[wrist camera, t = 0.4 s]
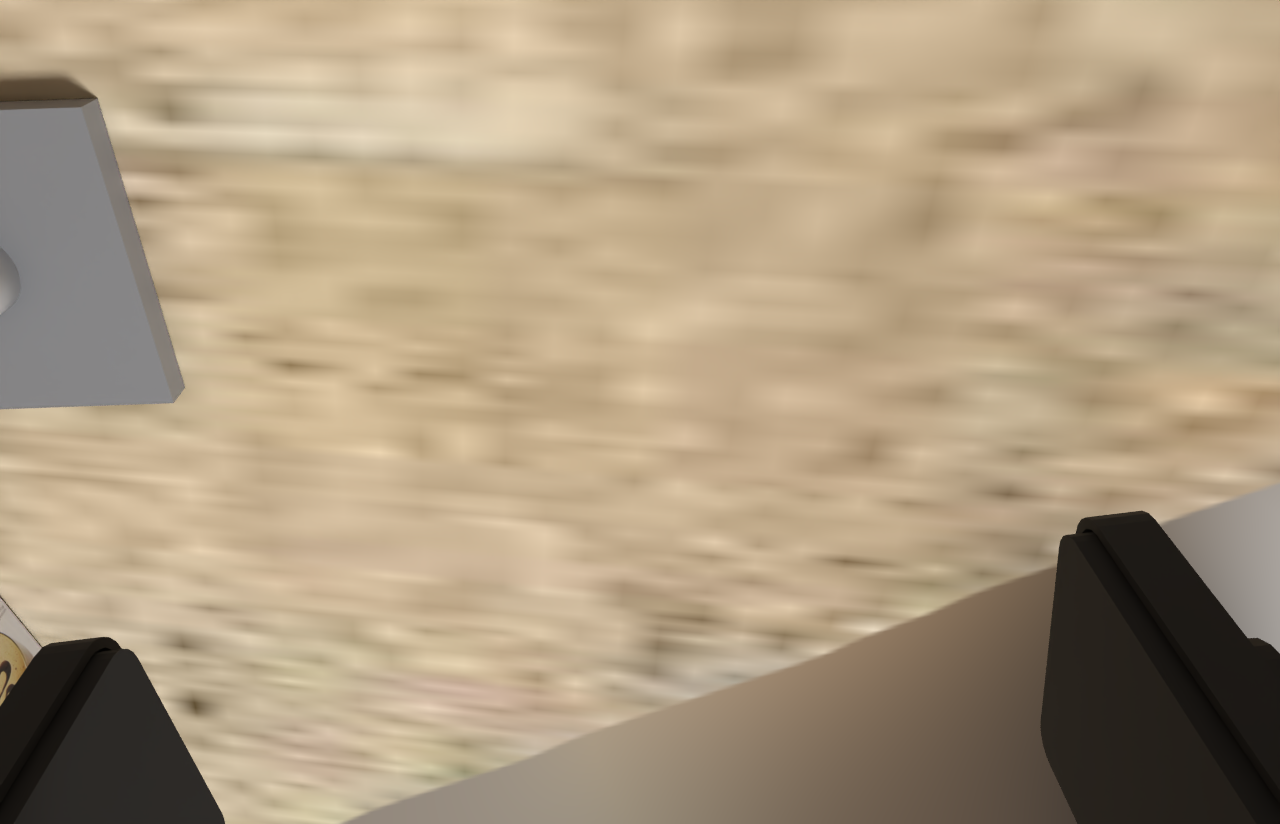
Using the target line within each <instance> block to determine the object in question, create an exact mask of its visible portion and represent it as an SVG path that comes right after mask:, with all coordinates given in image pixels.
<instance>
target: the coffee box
mask: <svg viewBox="0 0 1280 824" xmlns="http://www.w3.org/2000/svg"><path fill="white" fill-rule="evenodd" d="M41 648H42V647H41V646H40V645H39V644H38V642H37V641H36V640H35V639H34V638H33V636H32V635H31V634H30V633H29V632H28V630H27V629H26V628H25V627H24V625H23V624H22V623H21V622H20V621H19V619H18V618H17V617H16V616H15V615H14V613H13V612H12V611H11V610H10V609H9V607H8V606H7V605H6V604H5V602H4V601H3V600H2V599H1V598H0V706H1V704H2V703H3V701H4V700H5V698H6V697H7V695H8V694H9V693H10V691H11V690H12V688H13V687H14V685H15V684H16V682H17V681H18V679H19V678H20V677H21V675H22V674H23V672H24V671H25V669H26V668H27V666H28V665H29V664H30V662H31V661H32V659H33V658H34V656H35V655H36V654H37V653H38V652H39V651H40V650H41Z"/></svg>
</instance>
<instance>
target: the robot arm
mask: <svg viewBox="0 0 1280 824" xmlns="http://www.w3.org/2000/svg"><path fill="white" fill-rule="evenodd" d="M1041 736H1042V741H1043V746H1044V749H1045V753H1046V756H1047V758H1048V761H1049V763H1050V766H1051V768H1052V770H1053V772H1054V774H1055V776H1056V778H1057V780H1058V783H1059V785H1060V787H1061V789H1062V791H1063V793H1064V796H1065V798H1066V800H1067V802H1068V804H1069V806H1070V808H1071V811H1072V813H1073V815H1074V817H1075V819H1076V821H1077V824H1280V654H1279V653H1278V652H1277V651H1276V649H1274V647H1272V645H1270V644H1268V643H1266V642H1265V641H1263V640H1261V639H1259V638H1247V637H1246V636H1245V634H1244V633H1243V632H1242V631H1241V629H1240V628H1239V627H1238V626H1237V624H1236V623H1235V622H1234V620H1233V619H1232V618H1231V616H1230V615H1229V614H1228V613H1227V611H1226V610H1225V609H1224V607H1223V606H1222V605H1221V604H1220V602H1219V601H1218V600H1217V599H1216V597H1215V596H1214V595H1213V594H1212V592H1211V591H1210V589H1209V588H1208V587H1207V586H1206V584H1205V583H1204V582H1203V580H1202V579H1201V578H1200V577H1199V575H1198V574H1197V573H1196V572H1195V570H1194V569H1193V568H1192V566H1191V565H1190V564H1189V563H1188V561H1187V560H1186V559H1185V557H1184V556H1183V555H1182V554H1181V552H1180V551H1179V550H1178V548H1177V547H1176V546H1175V545H1174V543H1173V542H1172V541H1171V539H1170V538H1169V537H1168V536H1167V534H1166V533H1165V532H1164V530H1163V529H1162V528H1161V527H1160V525H1159V524H1158V523H1157V521H1156V520H1155V519H1154V518H1153V517H1152V516H1151V515H1150V514H1149V513H1147V512H1144V511H1136V512H1128V513H1119V514H1111V515H1103V516H1095V517H1086V518H1084V519H1081V521H1080V522H1079V524H1078V526H1077V531H1076V534H1071V535H1065V536H1063V537H1062V539H1061V541H1060V546H1059V554H1058V563H1057V573H1056V582H1055V592H1054V601H1053V611H1052V621H1051V629H1050V639H1049V648H1048V659H1047V667H1046V677H1045V687H1044V696H1043V706H1042V714H1041ZM0 824H225V821H224V817H223V815H222V812H221V811H220V809H219V807H218V805H217V803H216V801H215V800H214V798H213V796H212V794H211V792H210V790H209V788H208V787H207V785H206V783H205V781H204V779H203V777H202V776H201V774H200V772H199V770H198V768H197V766H196V765H195V763H194V761H193V759H192V757H191V755H190V753H189V752H188V750H187V748H186V746H185V744H184V742H183V741H182V739H181V737H180V735H179V733H178V731H177V730H176V728H175V726H174V724H173V722H172V720H171V718H170V717H169V715H168V713H167V711H166V709H165V707H164V706H163V704H162V702H161V700H160V698H159V696H158V695H157V693H156V691H155V689H154V687H153V685H152V683H151V682H150V680H149V678H148V676H147V674H146V672H145V671H144V669H143V667H142V665H141V663H140V661H139V660H138V658H137V656H136V655H135V654H134V652H132V651H130V650H129V649H122V648H121V647H120V646H119V644H118V643H117V642H116V641H114V640H113V639H111V638H109V637H99V638H90V639H82V640H74V641H66V642H57V643H51V644H48V645H46V646H44V647H42V648H41V650H40V651H39V652H38V653H37V654H36V655H35V656H34V658H33V659H32V661H31V662H30V664H29V665H28V666H27V668H26V669H25V671H24V672H23V674H22V675H21V677H20V678H19V679H18V681H17V682H16V684H15V685H14V687H13V688H12V690H11V691H10V693H9V694H8V695H7V697H6V698H5V700H4V701H3V703H2V704H1V706H0Z"/></svg>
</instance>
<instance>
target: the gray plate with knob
mask: <svg viewBox="0 0 1280 824" xmlns="http://www.w3.org/2000/svg"><path fill="white" fill-rule="evenodd" d="M184 388H185V386H184V382H183V379H182V376H181V373H180V369H179V366H178V363H177V359H176V356H175V353H174V349H173V346H172V343H171V340H170V336H169V333H168V330H167V326H166V323H165V320H164V316H163V313H162V310H161V307H160V303H159V300H158V297H157V293H156V290H155V287H154V283H153V280H152V277H151V274H150V270H149V267H148V264H147V260H146V257H145V254H144V250H143V247H142V244H141V241H140V237H139V234H138V231H137V227H136V224H135V221H134V217H133V214H132V211H131V208H130V204H129V201H128V198H127V194H126V191H125V188H124V185H123V181H122V178H121V175H120V171H119V168H118V165H117V161H116V158H115V155H114V152H113V148H112V145H111V142H110V138H109V135H108V132H107V128H106V125H105V122H104V119H103V115H102V112H101V109H100V105H99V102H98V99H97V98H93V99H62V100H32V101H2V102H0V409H19V408H47V407H75V406H103V405H132V404H160V403H174V402H175V400H176V399H177V398H178V396H179V395H180V394H181V392H182V391H183V390H184Z"/></svg>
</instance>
